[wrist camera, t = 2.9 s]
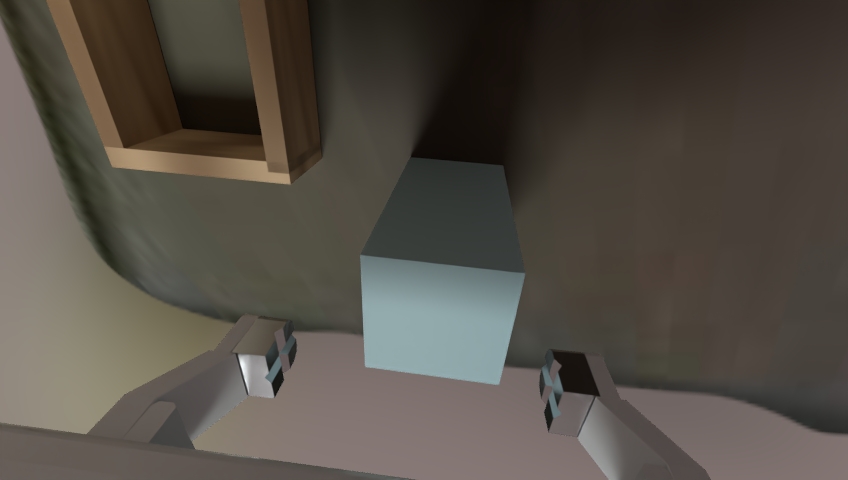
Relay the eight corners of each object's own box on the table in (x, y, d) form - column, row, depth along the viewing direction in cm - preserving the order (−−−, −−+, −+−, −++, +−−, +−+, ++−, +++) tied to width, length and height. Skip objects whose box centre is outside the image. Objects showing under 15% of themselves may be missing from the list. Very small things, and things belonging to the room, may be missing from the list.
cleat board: (551, -48, 15) (895, -400, 3) (511, 175, 20) (569, 408, 7) (17, -70, 17) (-1192, -337, 5) (100, 138, 21) (-382, 276, 9)
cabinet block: (502, 165, 19) (525, 273, 11) (487, 256, 22) (495, 398, 14) (410, 157, 20) (360, 254, 11) (407, 247, 23) (365, 380, 14)
